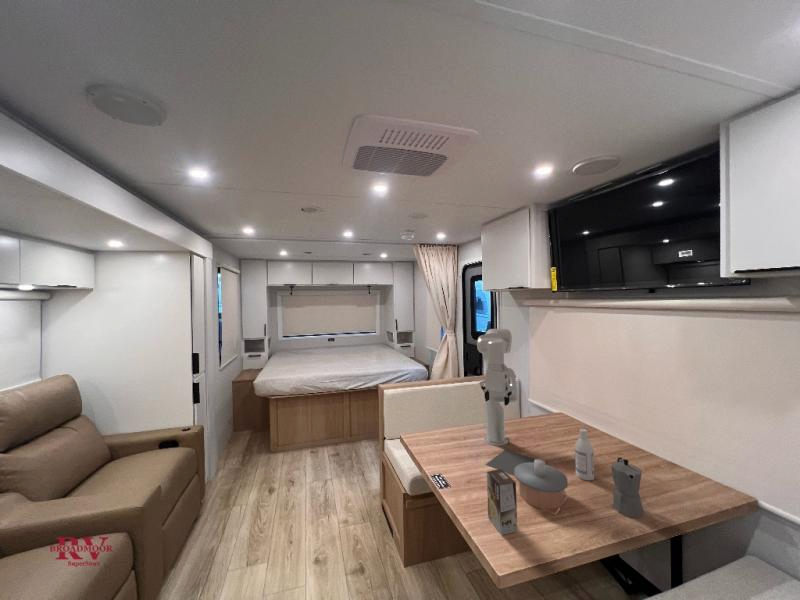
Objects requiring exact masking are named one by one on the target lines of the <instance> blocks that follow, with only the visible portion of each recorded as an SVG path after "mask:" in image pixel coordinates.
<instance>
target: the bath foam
mask: <svg viewBox="0 0 800 600" xmlns="http://www.w3.org/2000/svg"><path fill="white" fill-rule="evenodd" d="M594 453H595V452H594V447H593V445H592V443H591V442H590V440H589V439H588V430H587V429H585V428H580V429H579V438H578V439H577V441H576V442H575V445H574V455H575V456H574V460H575V461H574V462H575V466H574V467H575V475H576V476H577V477H578V478H579V479H580V480H584V481H593V480H594V479H595V461H594V459H595V458H594V457H595V456H594V455H595V454H594Z"/></svg>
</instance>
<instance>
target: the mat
mask: <svg viewBox="0 0 800 600" xmlns="http://www.w3.org/2000/svg"><path fill="white" fill-rule="evenodd" d="M534 460H536V458H533V457H531V456H527V455H523V454H521V453H519V452H518V453H517V452H516V451H512V450H508V449H504V450H502V451H501V452H500V453H498V454H497V455H496V456H495V457H493V458H492V459H491V460H490V461H488V462H486V464H485V466H487V467H490V468H493V469H494V470H499V469H502V470H503V471H504V472H505V473H506V474H507V475H510V476H511V475H512V476H514V477H515V474H514V470H515V467H516V466H517V465H519V464H522V463H534ZM545 465H548V462H546V461H545Z"/></svg>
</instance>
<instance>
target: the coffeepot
mask: <svg viewBox="0 0 800 600" xmlns="http://www.w3.org/2000/svg"><path fill="white" fill-rule="evenodd" d="M610 468H611V472H612V478H613V482H614V485H615V490H614V495H613V501H612V507H613V508H614V510H616V511H617V512H618V513H620V514H621V515H623V516H626V517H629V518H632V519H634V518H635V519H640V518H642V517H643V515H644V508H643V505H642V499H641V496H640V494H639V492H640V489H641V487H640V486H641V480H642V473H643V470H642V469H641V468H639V467H638V466H636V465H635V464H631V463H629V460H628V459H626V458H622V457H618V458H617V459H616V461H612V463H611V464H610Z"/></svg>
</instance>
